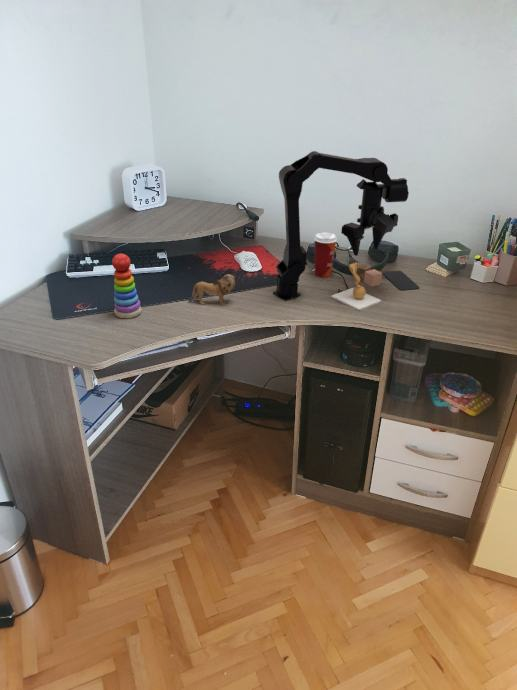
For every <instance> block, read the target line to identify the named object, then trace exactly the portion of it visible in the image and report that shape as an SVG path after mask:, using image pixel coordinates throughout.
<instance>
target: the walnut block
mask: <svg viewBox="0 0 517 690" xmlns="http://www.w3.org/2000/svg"><path fill="white" fill-rule="evenodd" d="M369 270H372V265H367V264H364V263H360V264H359V263H358V266H357V272H356V274H357V275H358V276H359V277H360V281H361V280H362V281H364V277H365V271H369ZM353 277H354V276H353ZM354 279H355V277H354Z"/></svg>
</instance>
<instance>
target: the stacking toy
mask: <svg viewBox="0 0 517 690" xmlns="http://www.w3.org/2000/svg"><path fill="white" fill-rule="evenodd" d="M111 264H112V267H113V269H114V272H113V276H114V281H113V282H114V284H113V288H114V291H113V294H114V296H113V297H114V298H113V301H114V309H113V312H114V314H115V316H116V317H118V318H121V319H132V318H135V317H137V316H139V315H140V314H141V312H142V306H141V301H140V299H139V295H138V294H137V293H138V291H137V289H136V283H135V277H134V276H133V275H132V272H133V271H132V269H130V267H131V259H130V257H129V256H128V255H126V254H124V253H117V254H115V255H114V256H113V258H112V260H111Z"/></svg>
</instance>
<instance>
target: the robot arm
mask: <svg viewBox="0 0 517 690" xmlns="http://www.w3.org/2000/svg"><path fill="white" fill-rule="evenodd" d="M319 169H323V170H328V171H329V170H330V171H335V172H342V173H347V174H351V175H352V174H354V175H356V176H360V177H362V179H361V180H360V182H358V183H357V184H356V187H357V188H358V189H360V190H362V196H361V197H362V199H361V204H359V205H358V210H360V215H359V216H360V217H358V218H357V219H356V222H357V223H354V222H348V223H345V224H343V225H342V226H341V230H340V231H341V234H342V235H343V236H345V237H346V238H347V240H348V243H349V245H350V247H351V250H352V253H353V255H354V256H358V255H359V252H360V246H361V240H363V239H364V238H365V236H364V234H365V231H366V230H369V229H371V230H372V241H373V243H372V244H373V248H374V250H378V249H379V246H380V244H381V242H382V240H383V239H384V236H385V234H387V233H392V232H393V229H394V228H395V227H397V226H398V222H399V214H397V213H395V212H394V213H391V214H386V213H385V208H384V206H382V201H383V200H384V201H385V203H405V202H407V200H408V198H409V194H410V193H409V192H410V191H409V187H408V180H407V179H406V178H405V177H400V178H391V177H390V175H389V174H388V171H389V170H388V165H387V164H386V163H385V162H383V161H382V160H380V159H378V158H376V157H362V158H352V157H351V158H350V157H345V156H339V155H335V154H334V155H333V154H328V153H323V152H319V151H316V150H314V151H311V152H309V153H307V154H306V155H305V156H304V157H302V158H300V159H297V160H295V161H294V162H293V163H291V164H290V165H285V166H283V167H281V169H280V170H279V172H278V180H279V184H280V189H281V192H282V195H283V199H284V200H283V201H284V215H285V216H284V218H285V219H284V220H285V237H286V238H285V240H286V244H285V248H284V250H283V257H282V260H281V261H279V263H278V264H276V266H275V269H276V271H277V273H278V274H277V275H276V290H275V291H273V292H272V293H273V295H274V296H275V297H276V296H277V297H278V298H281V299H282V300H284V301H288V300H291V299H294V298H296V297H297V298H298V297H300V296H301V293H300V292H299V290H298V289H299V283H298V282H299V278H300V277H301V274H303V273H304V272H305V270H306V266H308V265H309V264H308V262H307V261H308V260H307V257H308V252H307V251H306V249H305V248H304V247H303V245H301V227H300V225H301V224H300V198H301V194H302V191H303V185H304V184H303V183H304V182H306V181H307V180H308V179H309V178H310V177H311V176H312V175H313V174H314V173H315V172H316V171H317V170H319ZM367 180H368V181H367ZM379 182H380V183H379ZM358 223H359V224H358Z"/></svg>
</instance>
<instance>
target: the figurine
mask: <svg viewBox="0 0 517 690" xmlns="http://www.w3.org/2000/svg"><path fill="white" fill-rule="evenodd" d="M358 265H359V262H358V261H356V262H353V263H349V265H348V269H349V271H350V272H351V275H352V276H353V277H355V278H354V279H355V280H354V283H355V287H353V288H354V289H353V295H354V297H356V298H358V299H360V298H363V297H364V296H365V294H367V292H366V289H365V287H364V286H362V285H360V284H359V283H360V282H361V279H360V277H359V276H358V275H357V274H356V272H357V266H358Z"/></svg>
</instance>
